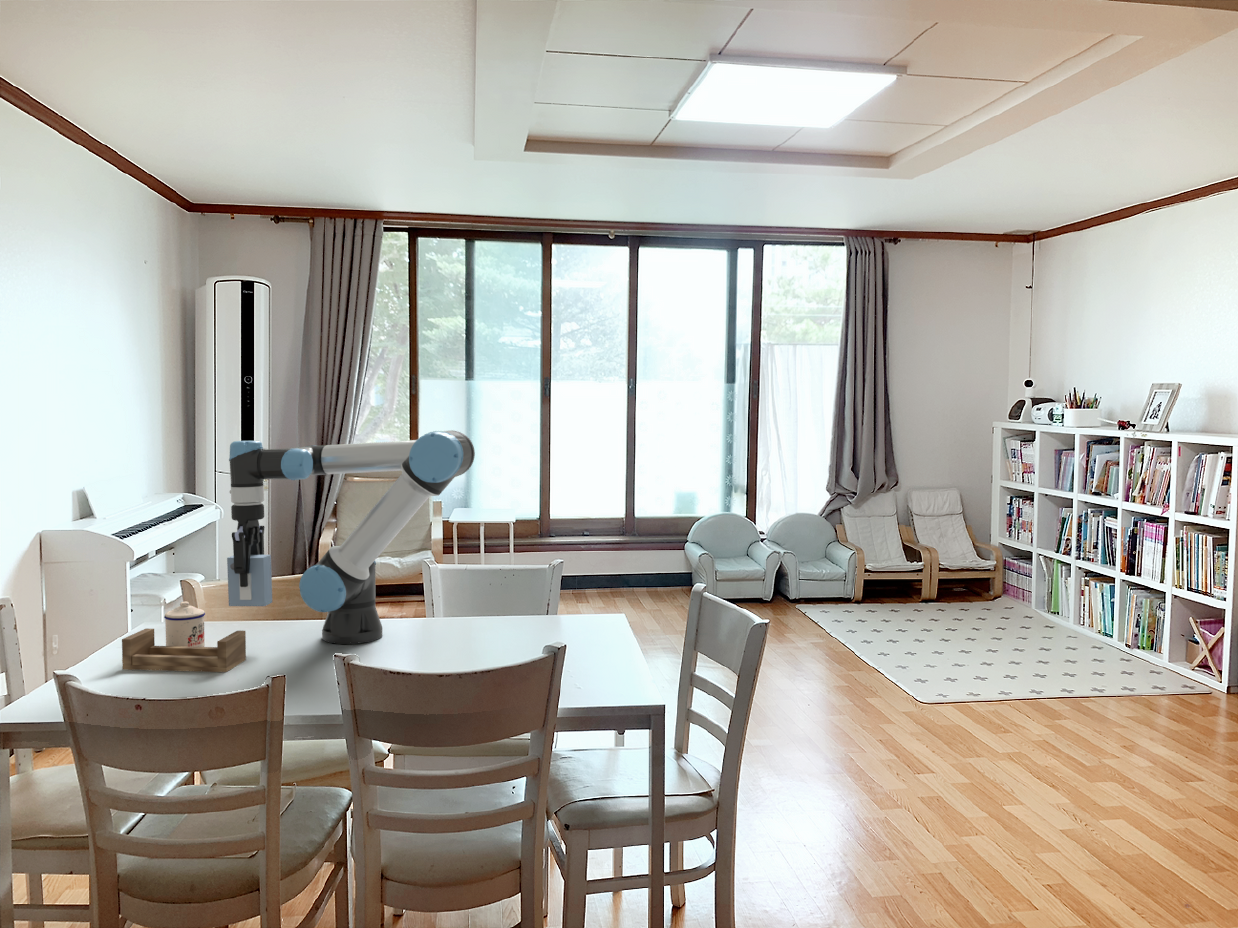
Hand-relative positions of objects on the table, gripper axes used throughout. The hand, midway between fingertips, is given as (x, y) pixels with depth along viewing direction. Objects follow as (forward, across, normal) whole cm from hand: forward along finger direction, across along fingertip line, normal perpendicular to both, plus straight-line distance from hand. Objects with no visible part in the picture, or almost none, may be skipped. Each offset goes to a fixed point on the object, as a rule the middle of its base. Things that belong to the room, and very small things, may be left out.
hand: (250, 597), depth 231 cm
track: (+12, +16, -9) cm, 22 cm away
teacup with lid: (+13, +1, -16) cm, 20 cm away
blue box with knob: (+2, 0, 0) cm, 2 cm away
